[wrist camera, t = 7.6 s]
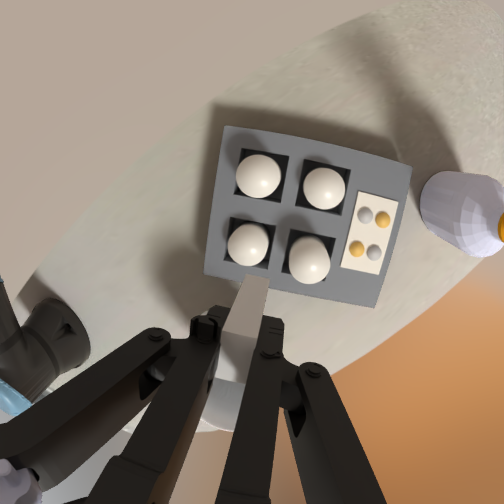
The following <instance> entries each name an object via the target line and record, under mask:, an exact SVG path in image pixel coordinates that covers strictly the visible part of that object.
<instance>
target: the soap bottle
mask: <svg viewBox="0 0 504 504" xmlns="http://www.w3.org/2000/svg"><path fill="white" fill-rule="evenodd" d="M420 211H421V215H422V219H423V221H424V223H425V225H426V226H427V228H428V229H429V230H430V231H431V232H433V233H434V234H435V235H437V236H438V237H440V238H442V239H443V240H445V241H447V242H448V243H450V244H452V245H453V246H455V247H457V248H458V249H460V250H462V251H463V252H465V253H466V254H468V255H471V256H474V257H478V258H479V257H486V256H490V255H493V254H495V253H496V252H497V251H499V250H500V249H501V248H502V247H503V245H504V187H503V186H502V185H501V184H500V183H499V182H498V181H497V180H495V179H493V178H491V177H489V176H487V175H479V174H472V173H463V172H454V171H442V172H439V173H437V174H435V175H433V176H432V177H431V178H430V179H429V180H428V181H427V183H426V184H425V185H424V188H423V191H422V193H421V197H420Z"/></svg>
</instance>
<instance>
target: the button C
mask: <svg viewBox="0 0 504 504" xmlns="http://www.w3.org/2000/svg"><path fill="white" fill-rule="evenodd" d="M289 269H290V272H291V274H292V276H293V277H294V278H295V279H296V280H297V281H299V282H301V283H304V284H314V283H317V282H319V281H321V280H323V279H324V278H325V277H326V275H327V274H328V272H329V269H330V259H329V256H328V253H327V250H326V248H325V245H324V243H323V242H322V240H321V239H319V238H318V237H316V236H314V235H302V236H300V237H298V238H296V239H295V240H294V241H293V243H292V244H291V247H290V254H289Z"/></svg>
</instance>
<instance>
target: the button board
mask: <svg viewBox="0 0 504 504" xmlns="http://www.w3.org/2000/svg"><path fill="white" fill-rule="evenodd" d="M252 155H264V156H267V157H270V158H272V159H273V160H275V161H276V162H277V164H278V165H279V167H280V169H281V181H280V183H279V185H278V186H277V188H276V189H275V190H274V191H273V192H272V193H271V194H270V195H268V196H266V197H263V198H254V197H250V196H248V195H246V194H245V193H243V192H242V191H241V189H240V188H239V186H238V184H237V181H236V171H237V168H238V166H239V164H240V163H241V162H242V161H243V160H244V159H245V158H247V157H249V156H252ZM315 168H328V169H332V170H334V171H336V172H337V173H338V174H339V175H340V176H341V177H342V179H343V181H344V184H345V194H344V197H343V199H342V201H341V202H340V203H339V204H338V205H337V206H335V207H333V208H331V209H319V208H316V207H315V206H313V205H312V204H311V203H310V202H309V201H308V200H307V198H306V196H305V194H304V191H303V180H304V177H305V176H306V174H307V173H308V172H309V171H311V170H312V169H315ZM412 170H413V167H412V166H409V165H406V164H403V163H400V162H397V161H393V160H390V159H387V158H383V157H380V156H376V155H373V154H369V153H366V152H362V151H358V150H354V149H350V148H346V147H342V146H338V145H334V144H330V143H325V142H321V141H316V140H311V139H306V138H301V137H296V136H291V135H286V134H280V133H274V132H268V131H262V130H256V129H249V128H242V127H234V126H226V125H224V131H223V137H222V143H221V149H220V155H219V161H218V168H217V174H216V180H215V187H214V194H213V201H212V208H211V215H210V222H209V230H208V237H207V245H206V253H205V261H204V270H203V274H205V275H210V276H214V277H219V278H223V279H228V280H232V281H237V282H243V280H244V278H245V275H246V274H249V275H254V276H258V277H263V278H268V279H270V282H269V287H268V288H270V289H275V290H280V291H285V292H290V293H295V294H300V295H305V296H311V297H316V298H321V299H326V300H332V301H337V302H342V303H348V304H353V305H359V306H364V307H370V308H375V305H376V302H377V299H378V296H379V294H380V291H381V288H382V285H383V282H384V279H385V276H386V272H387V269H388V266H389V263H390V259H391V256H392V253H393V249H394V246H395V242H396V239H397V235H398V231H399V227H400V224H401V220H402V216H403V211H404V207H405V203H406V199H407V194H408V189H409V185H410V180H411V175H412ZM249 220H250V221H255V222H260V223H262V224H264V225H265V226H266V227H267V229H268V231H269V234H270V242H269V245H268V248H267V252H266V255H265V257H264V258H263V260H262V261H261V262H259V263H258V264H256V265H252V266H244V265H240V264H238V263H237V262H235V261H234V260H233V259H232V258H231V256H230V254H229V252H228V241H229V238H230V236H231V235H232V234H233V233H234V231H235V230H236V229H237V228H238V227H239V226H240V225H241V224H242V223H243V222H245V221H249ZM302 235H314V236H316V237H318V238H319V239H321V240H322V242H323V243H324V245H325V248H326V250H327V253H328V256H329V259H330V269H329V272H328V274H327V275H326V277H325V278H324V279H323V280H321V281H319V282H317V283H314V284H304V283H301V282H299V281H297V280H296V279H295V278H294V277H293V276H292V274H291V272H290V269H289V254H290V247H291V244H292V243H293V241H294V240H295V239H296V238H298V237H300V236H302Z"/></svg>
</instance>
